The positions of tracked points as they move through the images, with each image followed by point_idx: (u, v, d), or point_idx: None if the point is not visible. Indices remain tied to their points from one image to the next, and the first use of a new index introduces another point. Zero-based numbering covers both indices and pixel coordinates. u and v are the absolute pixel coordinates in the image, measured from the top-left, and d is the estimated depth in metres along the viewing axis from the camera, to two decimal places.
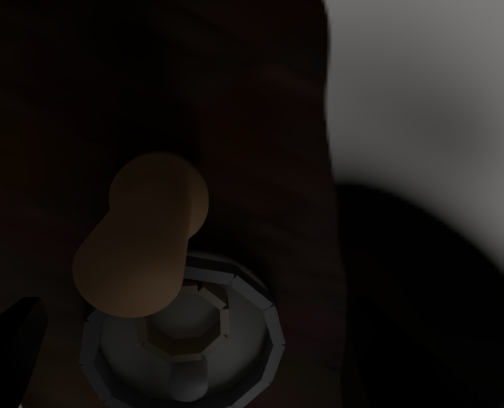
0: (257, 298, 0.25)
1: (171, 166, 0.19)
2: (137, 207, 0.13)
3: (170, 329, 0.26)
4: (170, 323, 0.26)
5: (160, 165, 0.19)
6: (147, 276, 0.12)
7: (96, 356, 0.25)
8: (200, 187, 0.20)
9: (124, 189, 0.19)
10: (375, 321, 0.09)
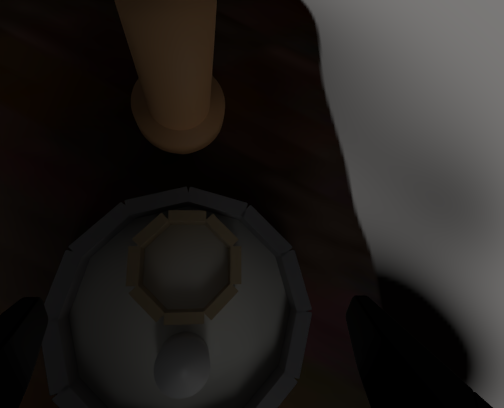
0: (274, 237, 0.21)
1: None
2: None
3: (165, 292, 0.21)
4: (166, 283, 0.21)
5: None
6: (182, 1, 0.13)
7: (63, 317, 0.19)
8: (218, 92, 0.21)
9: None
10: (375, 321, 0.09)
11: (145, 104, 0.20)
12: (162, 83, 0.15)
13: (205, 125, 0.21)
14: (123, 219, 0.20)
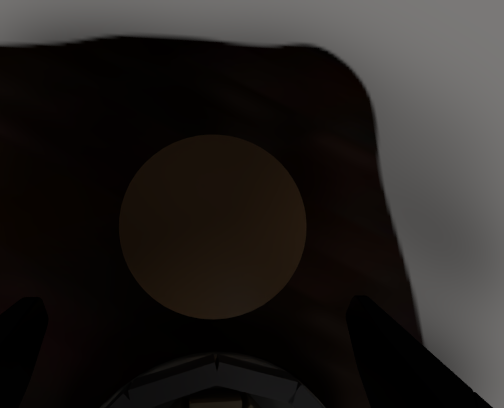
0: None
1: None
2: None
3: None
4: None
5: None
6: (246, 230, 0.07)
7: None
8: None
9: None
10: (375, 321, 0.09)
11: None
12: None
13: None
14: None
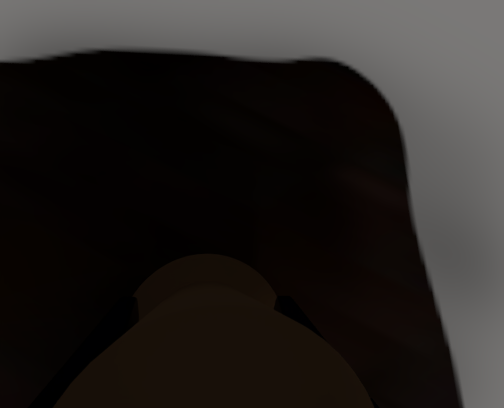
0: None
1: (231, 273, 0.12)
2: (225, 294, 0.06)
3: None
4: None
5: (214, 270, 0.12)
6: None
7: None
8: None
9: (149, 311, 0.11)
10: None
11: None
12: None
13: None
14: None
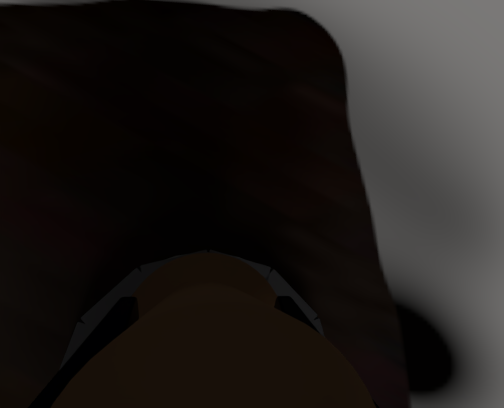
0: (298, 305, 0.20)
1: (231, 272, 0.12)
2: (225, 291, 0.06)
3: None
4: None
5: (214, 270, 0.12)
6: None
7: None
8: None
9: (149, 310, 0.11)
10: None
11: None
12: None
13: None
14: None
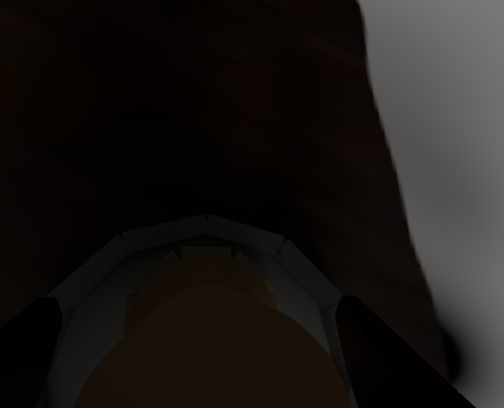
0: (319, 282, 0.16)
1: (229, 273, 0.13)
2: (222, 290, 0.06)
3: None
4: None
5: (213, 271, 0.13)
6: None
7: None
8: None
9: (153, 309, 0.12)
10: (362, 321, 0.09)
11: None
12: None
13: None
14: (120, 259, 0.15)
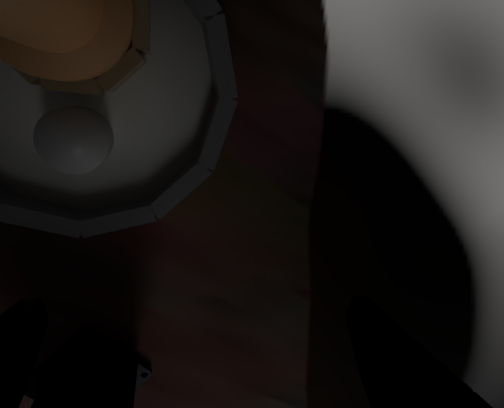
0: None
1: None
2: None
3: None
4: None
5: None
6: None
7: None
8: None
9: None
10: (375, 321, 0.09)
11: None
12: None
13: (97, 46, 0.13)
14: None
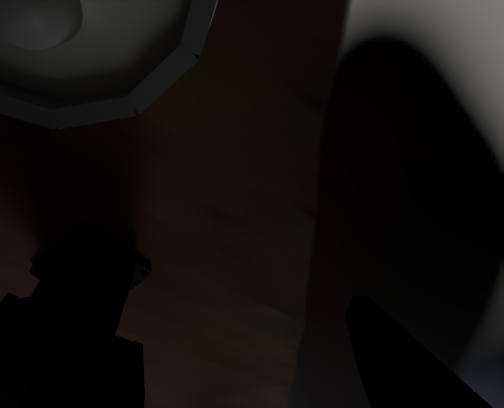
0: None
1: None
2: None
3: None
4: None
5: None
6: None
7: None
8: None
9: None
10: (375, 321, 0.09)
11: None
12: None
13: None
14: None
